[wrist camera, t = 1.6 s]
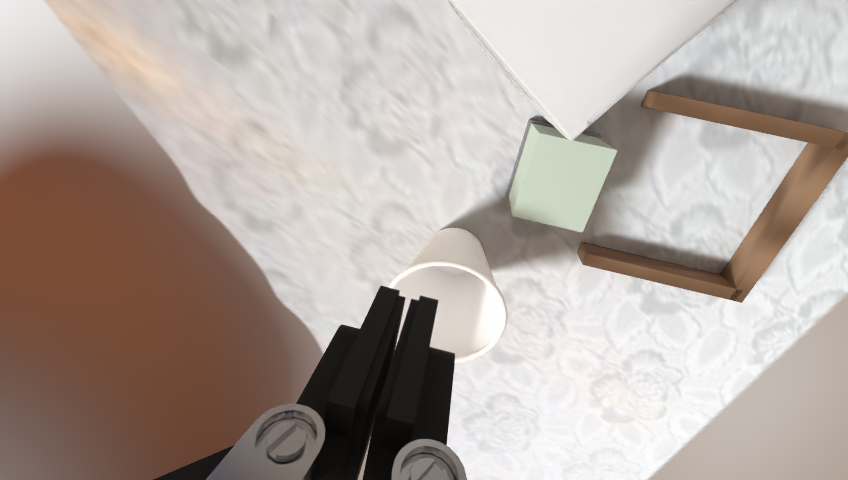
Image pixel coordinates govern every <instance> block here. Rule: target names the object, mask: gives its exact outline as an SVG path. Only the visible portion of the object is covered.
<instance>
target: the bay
mask: <svg viewBox="0 0 848 480" xmlns="http://www.w3.org/2000/svg"><path fill="white" fill-rule="evenodd" d="M641 106H644V107H648V108H651V109H656V110H660V111H665V112H669V113H674V114H679V115H683V116H688V117H693V118H697V119H702V120H707V121H711V122H716V123H720V124H725V125H730V126H734V127H739V128H744V129H748V130H753V131H758V132H762V133H767V134H771V135H776V136H781V137H785V138H790V139H795V140H799V141H804V142H808V143H807V145H806V146H805V148H804V149H803V151H802V152H801V154H800V155H799V157H798V158H797V160H796V161H795V163H794V164H793V166H792V167H791V169H790V170H789V172H788V174H787V175H786V177H785V178H784V180H783V181H782V183H781V184H780V186H779V187H778V189H777V190H776V192H775V193H774V195H773V196H772V198H771V199H770V201H769V202H768V204H767V205H766V207H765V208H764V210H763V211H762V213H761V214H760V216H759V217H758V219H757V220H756V222H755V223H754V225H753V226H752V228H751V229H750V231H749V232H748V234H747V235H746V237H745V238H744V240H743V241H742V243H741V245H740V246H739V248H738V249H737V251H736V252H735V254H734V255H733V257H732V258H731V260H730V261H729V263H728V264H727V266H726V267H725V269H724V270H723V272H722V273H721V275H719V274H715V273H710V272H706V271H702V270H698V269H693V268H689V267H685V266H681V265H676V264H672V263H668V262H664V261H659V260H655V259H651V258H647V257H642V256H638V255H634V254H630V253H625V252H621V251H617V250H613V249H608V248H604V247H600V246H596V245H592V244H587V243H583V242H581V244H580V247H579V249H578V251H577V254H578V256H579V258H580V260H581V262H582V264H583V265H586V266H591V267H595V268H599V269H603V270H607V271H612V272H616V273H620V274H624V275H628V276H633V277H637V278H641V279H645V280H649V281H653V282H658V283H662V284H666V285H670V286H674V287H679V288H683V289H687V290H691V291H695V292H700V293H704V294H708V295H712V296H716V297H721V298H725V299H729V300H733V301H737V302H741V303H742V302H743V300H744V299H745V298H746V296H747V295H748V293H749V292H750V291H751V289H752V288H753V287H754V285H755V284H756V282H757V281H758V280H759V278H760V277H761V276H762V274H763V273H764V271H765V270H766V269H767V267H768V266H769V264H770V263H771V262H772V260H773V259H774V258H775V256H776V255H777V253H778V252H779V251H780V249H781V248H782V246H783V245H784V244H785V242H786V241H787V240H788V238H789V237H790V235H791V234H792V233H793V231H794V230H795V229H796V227H797V226H798V224H799V223H800V222H801V220H802V219H803V217H804V216H805V215H806V213H807V212H808V211H809V209H810V208H811V206H812V205H813V204H814V202H815V201H816V199H817V198H818V197H819V195H820V194H821V193H822V191H823V190H824V188H825V187H826V186H827V184H828V183H829V181H830V180H831V179H832V177H833V176H834V175H835V173H836V172H837V170H838V169H839V168H840V166H841V165H842V164H843V162H844V161H845V159H846V158H847V157H848V132H843V131H839V130H834V129H829V128H824V127H820V126H815V125H810V124H806V123H801V122H796V121H792V120H787V119H782V118H778V117H773V116H768V115H763V114H759V113H754V112H749V111H745V110H740V109H735V108H731V107H726V106H721V105H717V104H712V103H707V102H703V101H698V100H693V99H688V98H684V97H679V96H674V95H670V94H665V93H660V92H654V91H647V93H646V96H645V98H644V100H643V102H642V105H641Z"/></svg>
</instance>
